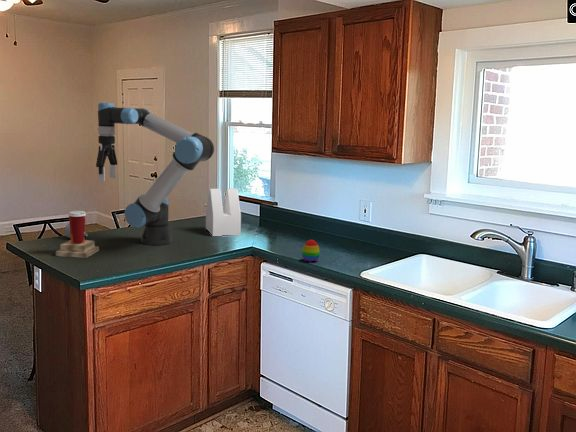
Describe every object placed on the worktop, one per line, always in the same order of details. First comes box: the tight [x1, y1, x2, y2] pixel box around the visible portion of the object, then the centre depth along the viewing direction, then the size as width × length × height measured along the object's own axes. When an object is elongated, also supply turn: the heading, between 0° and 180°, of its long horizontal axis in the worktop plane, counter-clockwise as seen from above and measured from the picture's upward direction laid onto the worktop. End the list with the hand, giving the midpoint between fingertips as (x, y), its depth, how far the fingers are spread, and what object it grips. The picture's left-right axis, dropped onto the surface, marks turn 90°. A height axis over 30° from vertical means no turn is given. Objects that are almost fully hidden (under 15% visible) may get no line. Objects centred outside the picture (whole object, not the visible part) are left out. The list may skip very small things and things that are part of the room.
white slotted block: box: [205, 187, 242, 237], centre depth 312 cm, size 19×15×25 cm
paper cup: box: [67, 210, 87, 244], centre depth 254 cm, size 8×8×14 cm
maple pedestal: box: [55, 239, 100, 259], centre depth 255 cm, size 14×14×5 cm
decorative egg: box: [301, 239, 321, 262], centre depth 259 cm, size 8×8×10 cm
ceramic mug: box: [64, 223, 89, 239], centre depth 286 cm, size 11×8×8 cm
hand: (107, 179), depth 273 cm, fingers open, 13 cm apart
